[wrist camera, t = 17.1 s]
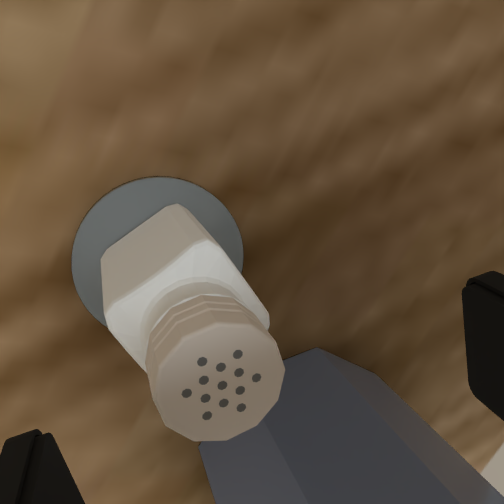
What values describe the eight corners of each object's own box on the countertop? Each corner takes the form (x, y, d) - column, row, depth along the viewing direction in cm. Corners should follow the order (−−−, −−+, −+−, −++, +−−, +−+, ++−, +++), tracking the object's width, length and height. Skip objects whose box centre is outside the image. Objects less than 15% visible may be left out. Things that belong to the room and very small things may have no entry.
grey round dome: (217, 156, 20) (221, 157, 19) (254, 303, 22) (258, 308, 22) (45, 204, 18) (43, 208, 18) (105, 356, 21) (105, 363, 20)
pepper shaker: (230, 268, 21) (328, 386, 12) (154, 324, 21) (201, 486, 12) (176, 194, 19) (246, 271, 11) (93, 254, 19) (95, 383, 10)
